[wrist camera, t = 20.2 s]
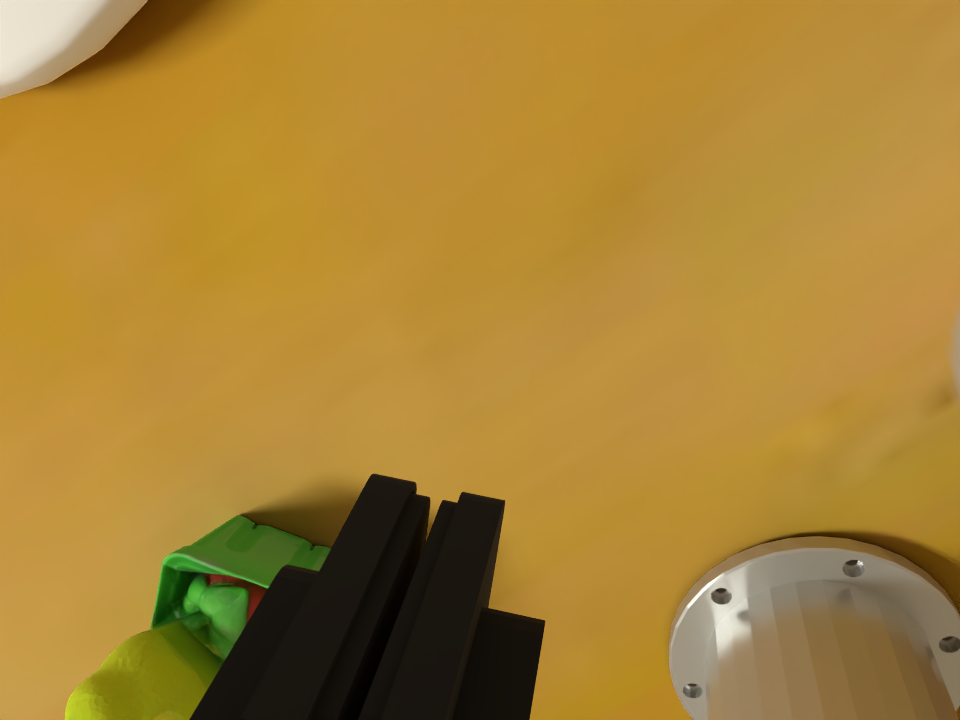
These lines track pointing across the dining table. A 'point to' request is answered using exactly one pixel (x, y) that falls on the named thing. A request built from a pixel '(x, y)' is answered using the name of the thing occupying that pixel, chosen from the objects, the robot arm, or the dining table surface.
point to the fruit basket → (191, 624)
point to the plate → (54, 37)
